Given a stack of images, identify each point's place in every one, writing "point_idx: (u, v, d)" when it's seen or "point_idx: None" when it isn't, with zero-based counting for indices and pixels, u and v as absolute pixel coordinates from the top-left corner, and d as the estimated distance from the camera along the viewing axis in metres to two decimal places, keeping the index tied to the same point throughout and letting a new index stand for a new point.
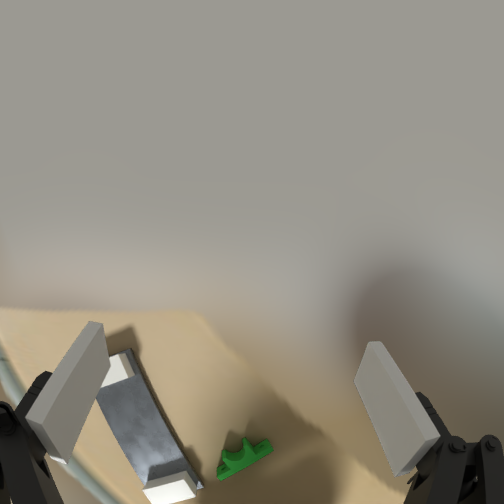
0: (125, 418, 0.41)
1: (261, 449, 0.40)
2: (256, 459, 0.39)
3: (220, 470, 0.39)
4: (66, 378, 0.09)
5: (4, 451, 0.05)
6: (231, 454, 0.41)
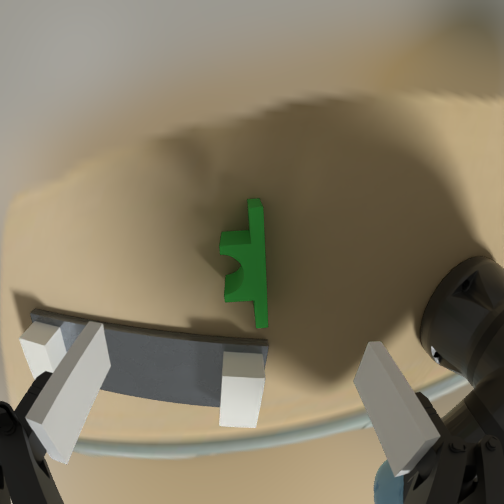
0: (115, 372, 0.30)
1: None
2: (261, 248, 0.23)
3: (254, 309, 0.27)
4: (66, 378, 0.09)
5: (4, 451, 0.05)
6: (237, 273, 0.27)
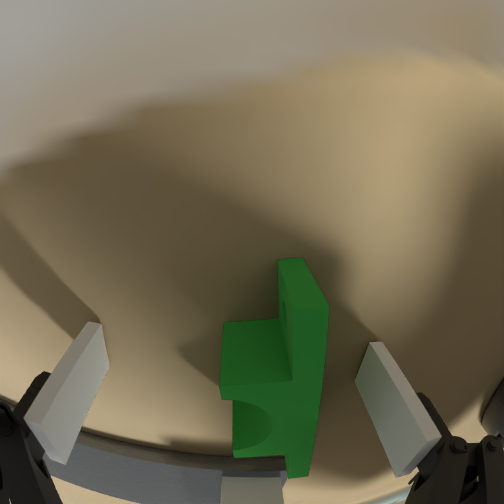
0: (77, 472, 0.16)
1: (289, 338, 0.09)
2: (314, 385, 0.09)
3: None
4: (64, 378, 0.09)
5: (3, 451, 0.05)
6: None
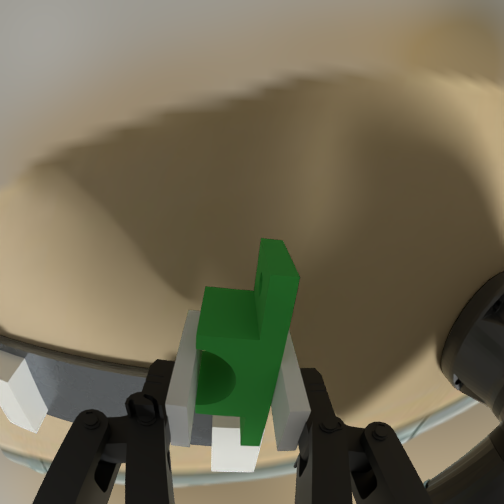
0: (90, 408, 0.23)
1: (262, 302, 0.11)
2: (277, 349, 0.11)
3: None
4: (192, 361, 0.11)
5: (134, 440, 0.07)
6: (222, 358, 0.15)
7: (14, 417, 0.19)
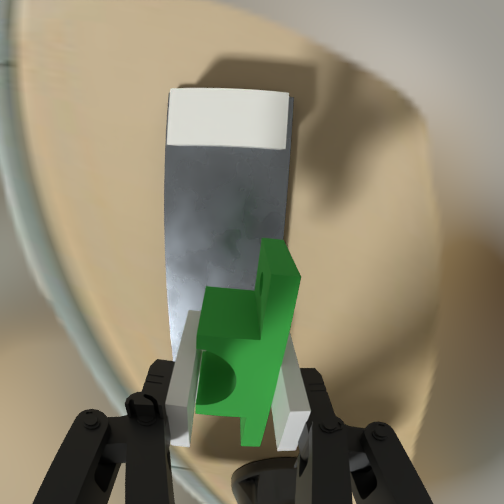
0: (208, 225, 0.24)
1: (263, 302, 0.11)
2: (278, 349, 0.11)
3: None
4: (192, 361, 0.11)
5: (134, 440, 0.07)
6: (222, 358, 0.15)
7: (193, 109, 0.18)
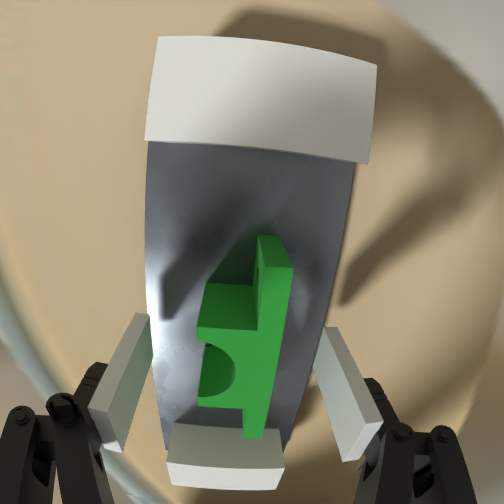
0: (215, 275, 0.15)
1: (259, 294, 0.12)
2: (275, 339, 0.12)
3: None
4: (124, 366, 0.10)
5: (61, 442, 0.06)
6: (223, 353, 0.16)
7: (200, 74, 0.09)
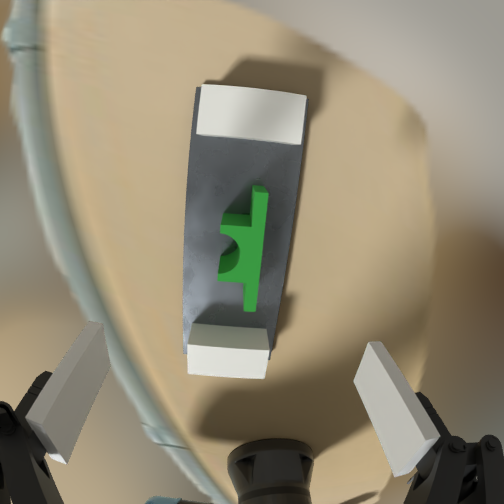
0: (226, 208, 0.27)
1: (252, 209, 0.24)
2: (260, 232, 0.24)
3: None
4: (66, 378, 0.09)
5: (4, 451, 0.05)
6: (232, 256, 0.27)
7: (222, 104, 0.20)
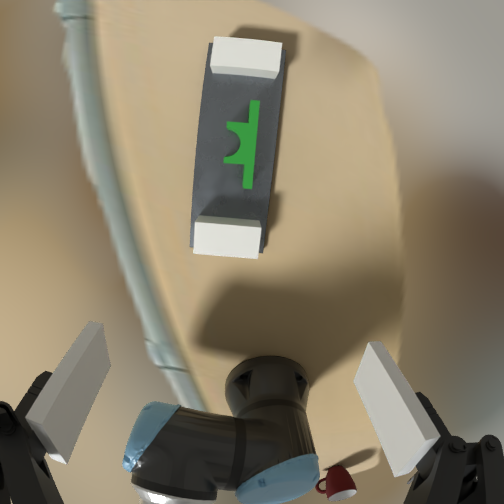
0: (228, 121, 0.35)
1: None
2: (255, 127, 0.32)
3: None
4: (66, 378, 0.09)
5: (4, 451, 0.05)
6: None
7: (227, 48, 0.28)
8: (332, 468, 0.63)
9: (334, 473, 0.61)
